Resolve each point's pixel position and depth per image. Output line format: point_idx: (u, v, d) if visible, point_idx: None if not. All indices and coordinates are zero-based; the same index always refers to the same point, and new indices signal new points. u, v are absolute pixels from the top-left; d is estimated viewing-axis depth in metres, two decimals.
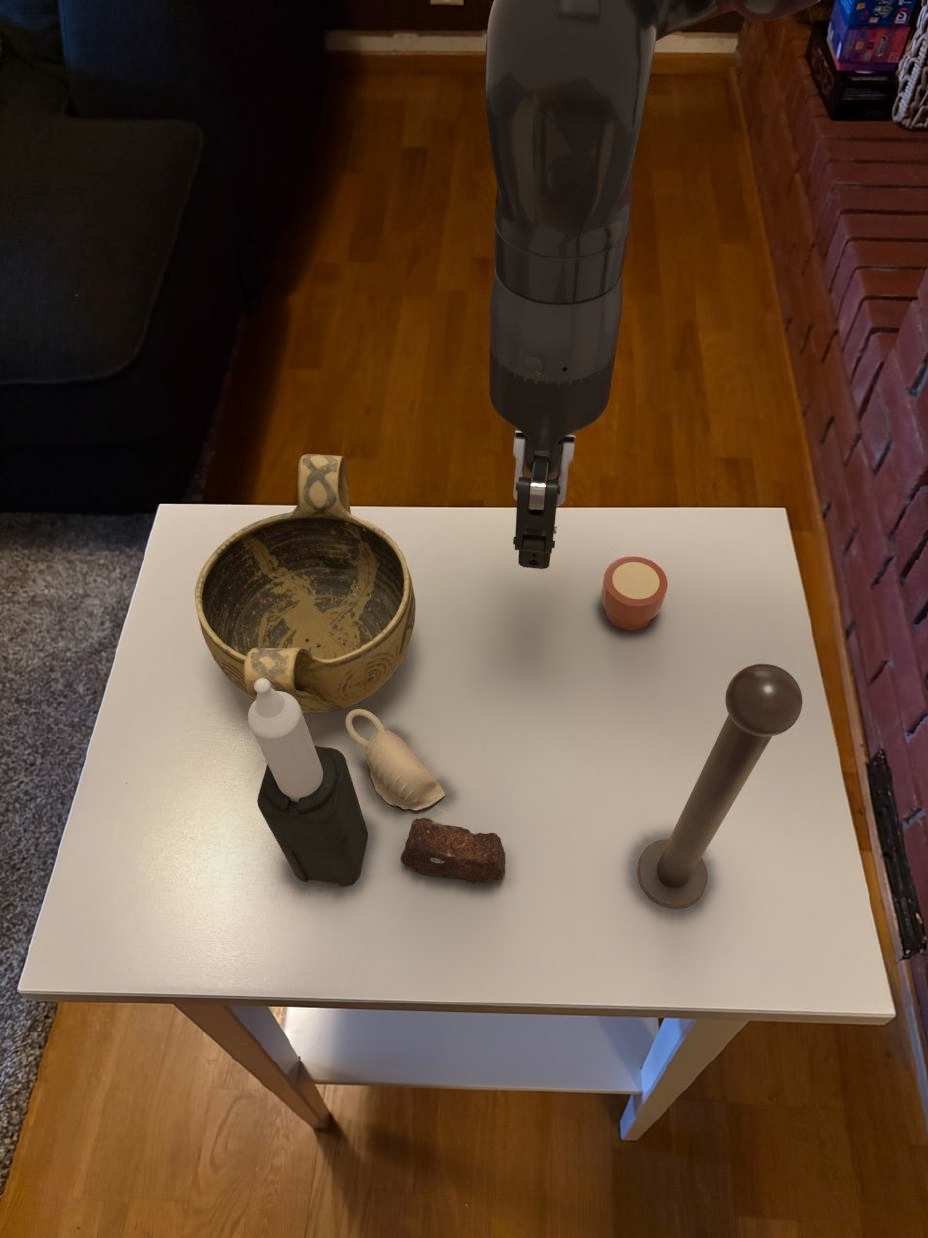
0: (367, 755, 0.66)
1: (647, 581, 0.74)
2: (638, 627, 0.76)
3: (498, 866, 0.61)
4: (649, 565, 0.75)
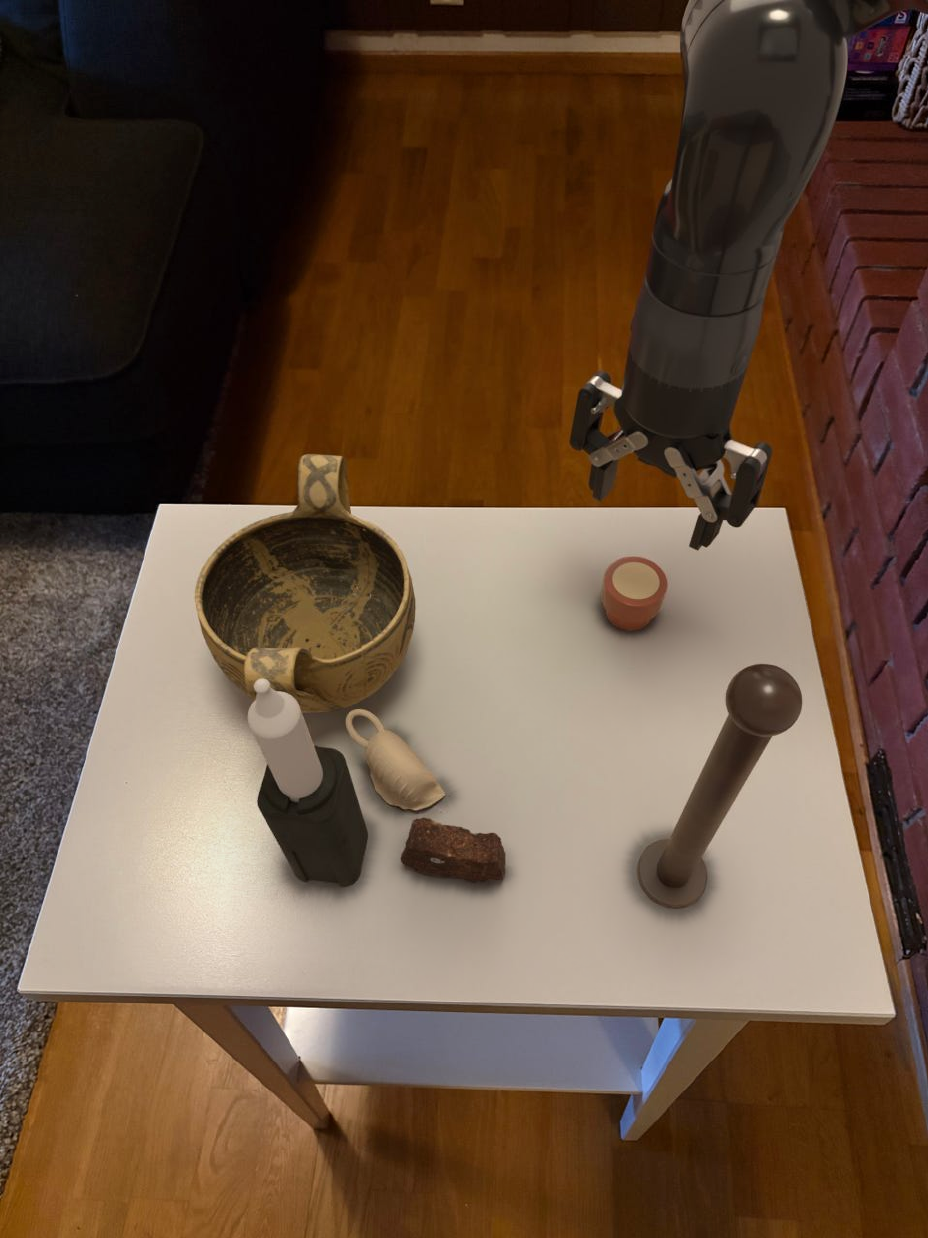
0: (367, 755, 0.66)
1: (647, 581, 0.74)
2: (638, 627, 0.76)
3: (498, 866, 0.61)
4: (649, 565, 0.75)
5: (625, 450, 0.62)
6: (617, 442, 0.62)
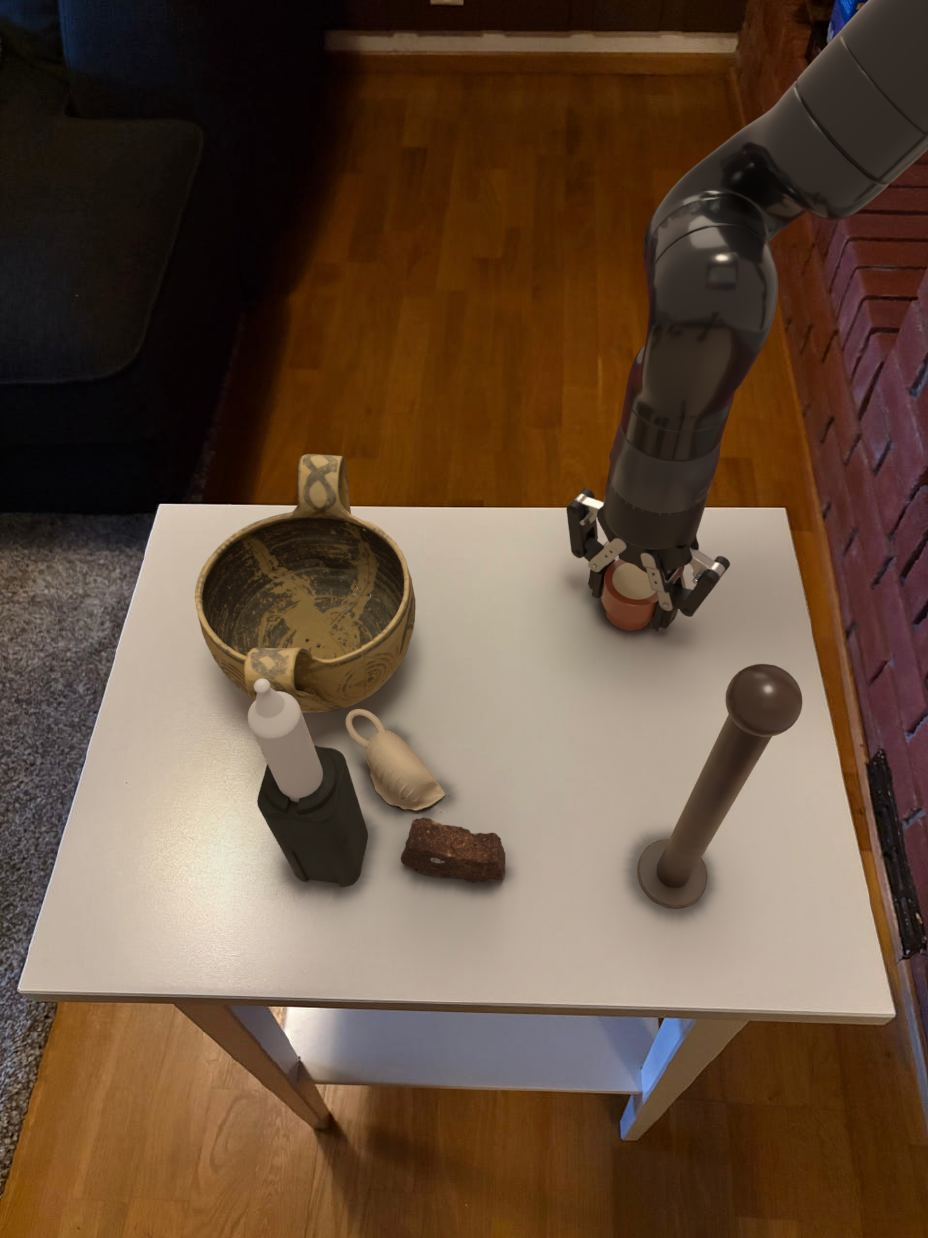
0: (367, 755, 0.66)
1: (647, 581, 0.74)
2: (638, 627, 0.76)
3: (498, 866, 0.61)
4: None
5: (612, 555, 0.71)
6: (604, 549, 0.71)
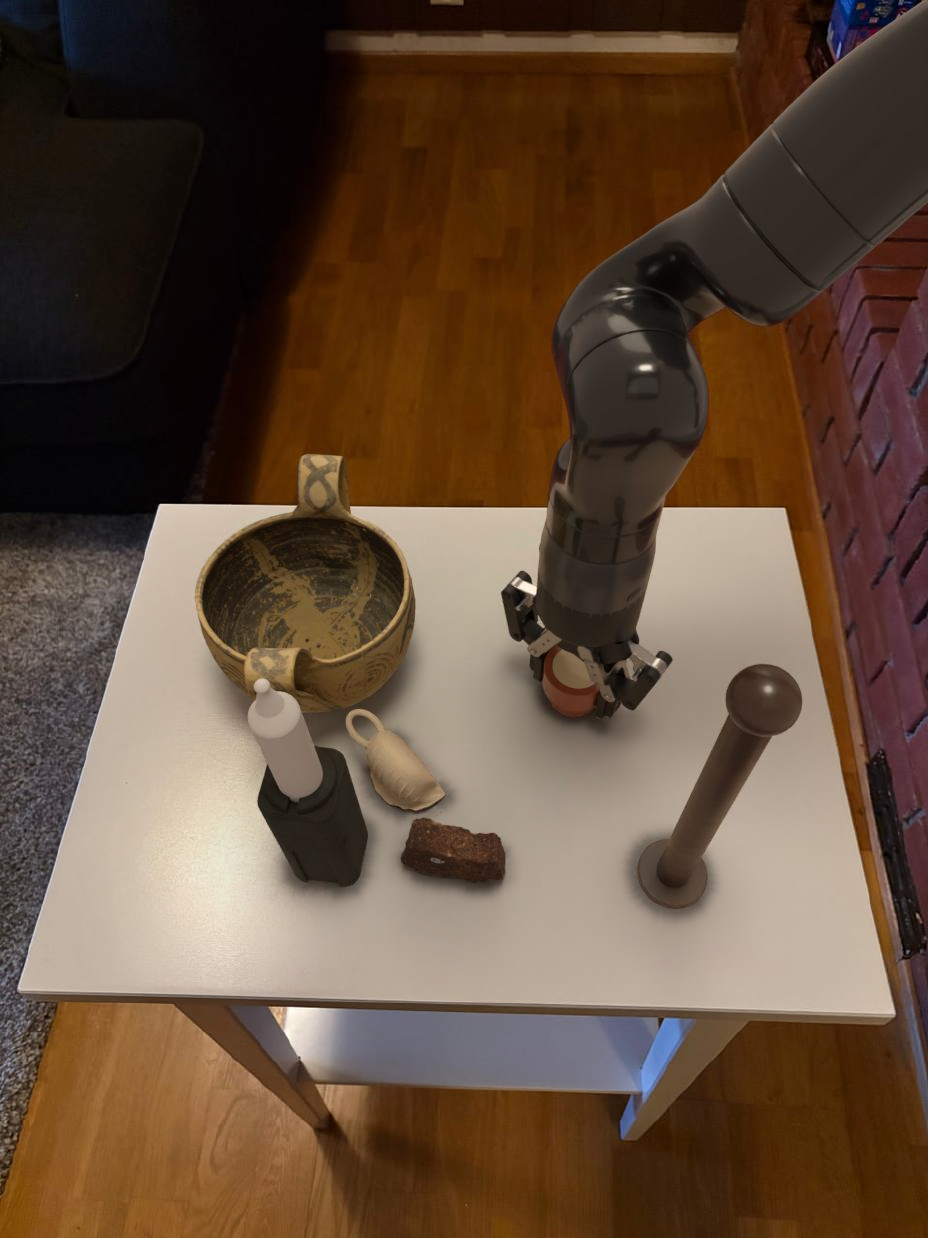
0: (367, 755, 0.66)
1: None
2: (581, 714, 0.72)
3: (498, 866, 0.61)
4: None
5: (549, 644, 0.66)
6: (541, 637, 0.66)
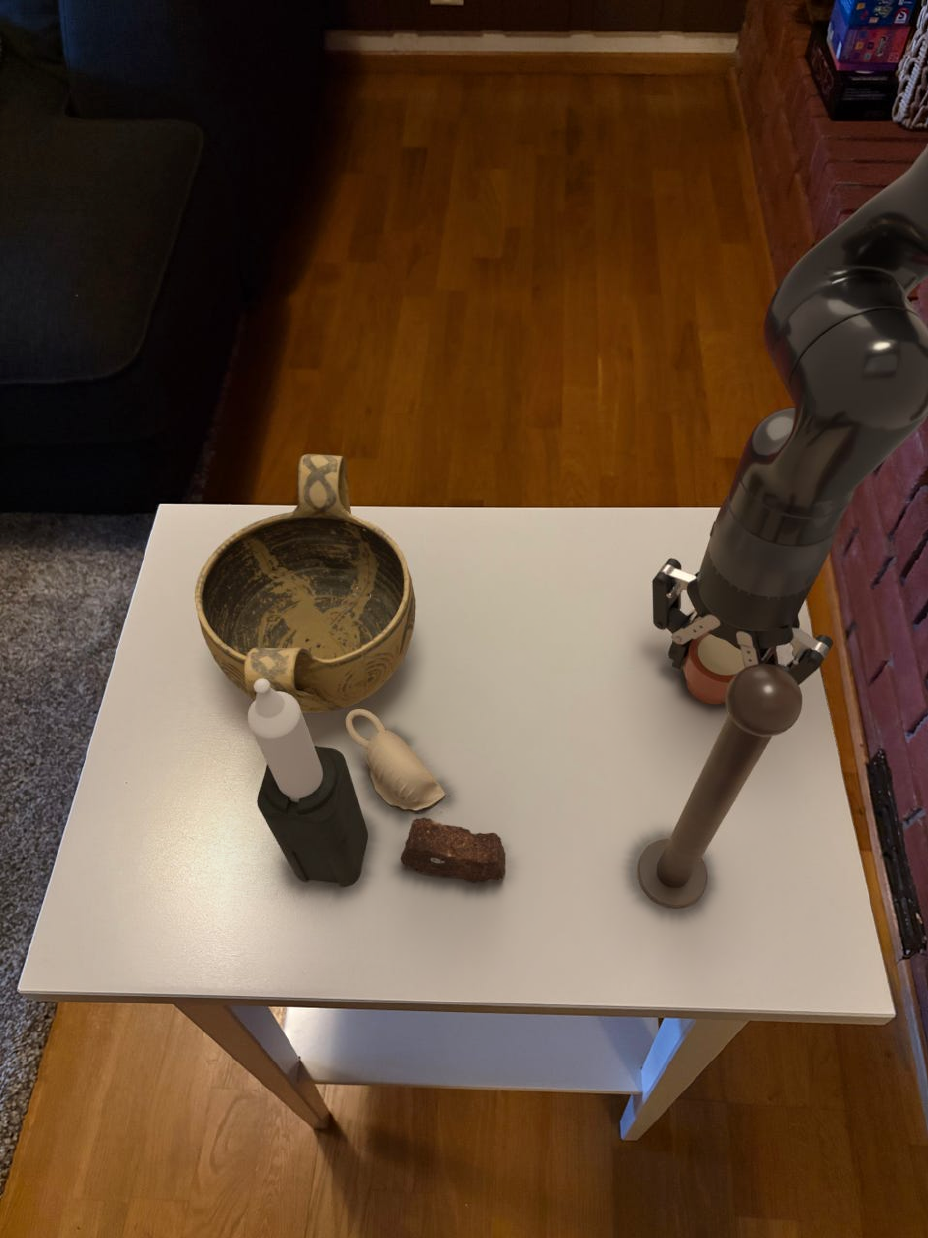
0: (367, 755, 0.66)
1: (735, 654, 0.70)
2: (723, 701, 0.72)
3: (498, 866, 0.61)
4: None
5: (702, 630, 0.67)
6: (693, 624, 0.67)
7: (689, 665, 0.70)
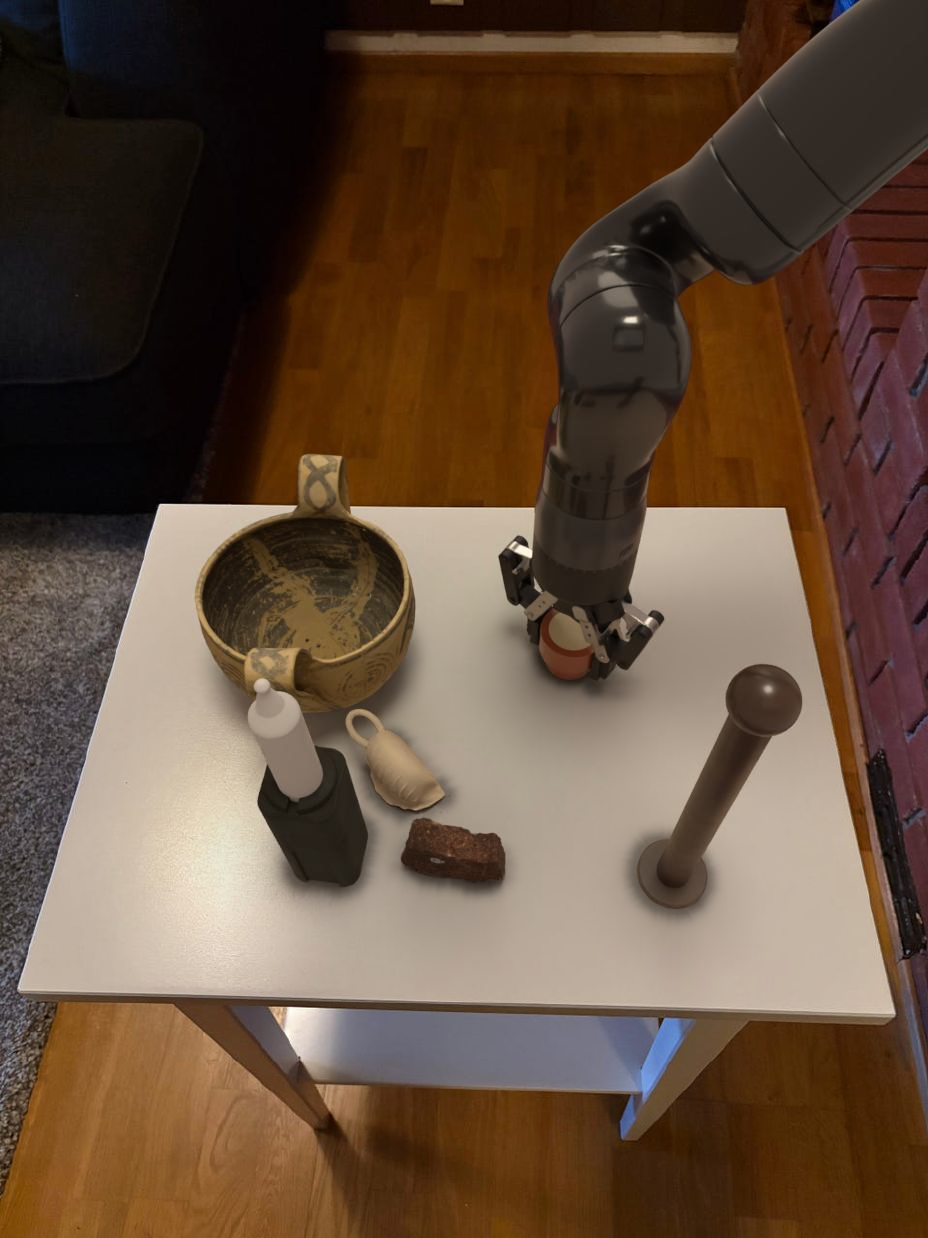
0: (367, 755, 0.66)
1: None
2: (577, 676, 0.74)
3: (498, 866, 0.61)
4: None
5: (545, 605, 0.68)
6: (537, 599, 0.68)
7: (540, 640, 0.72)
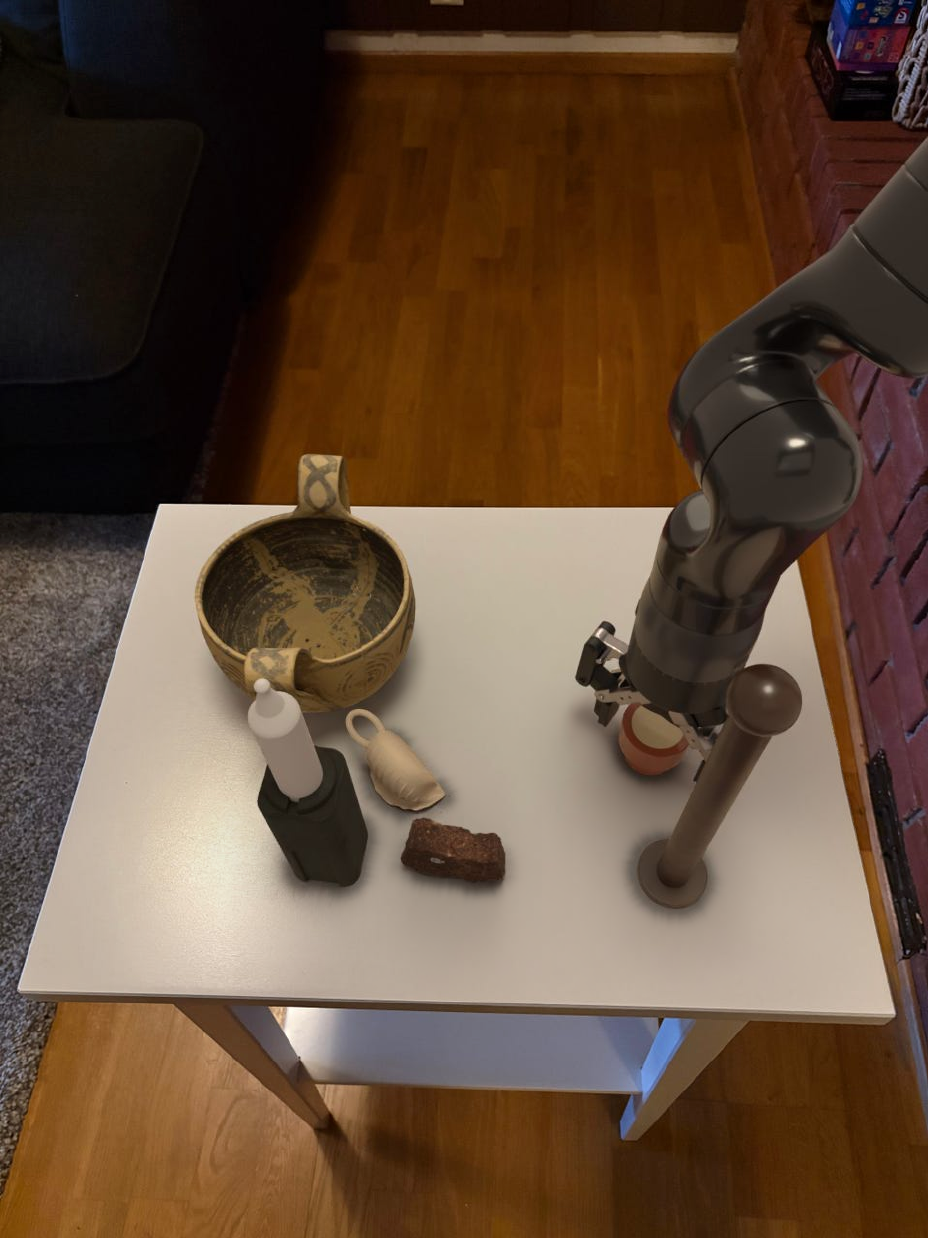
0: (367, 755, 0.66)
1: (670, 725, 0.66)
2: (660, 772, 0.69)
3: (498, 866, 0.61)
4: None
5: (630, 700, 0.63)
6: (622, 692, 0.63)
7: (622, 736, 0.67)
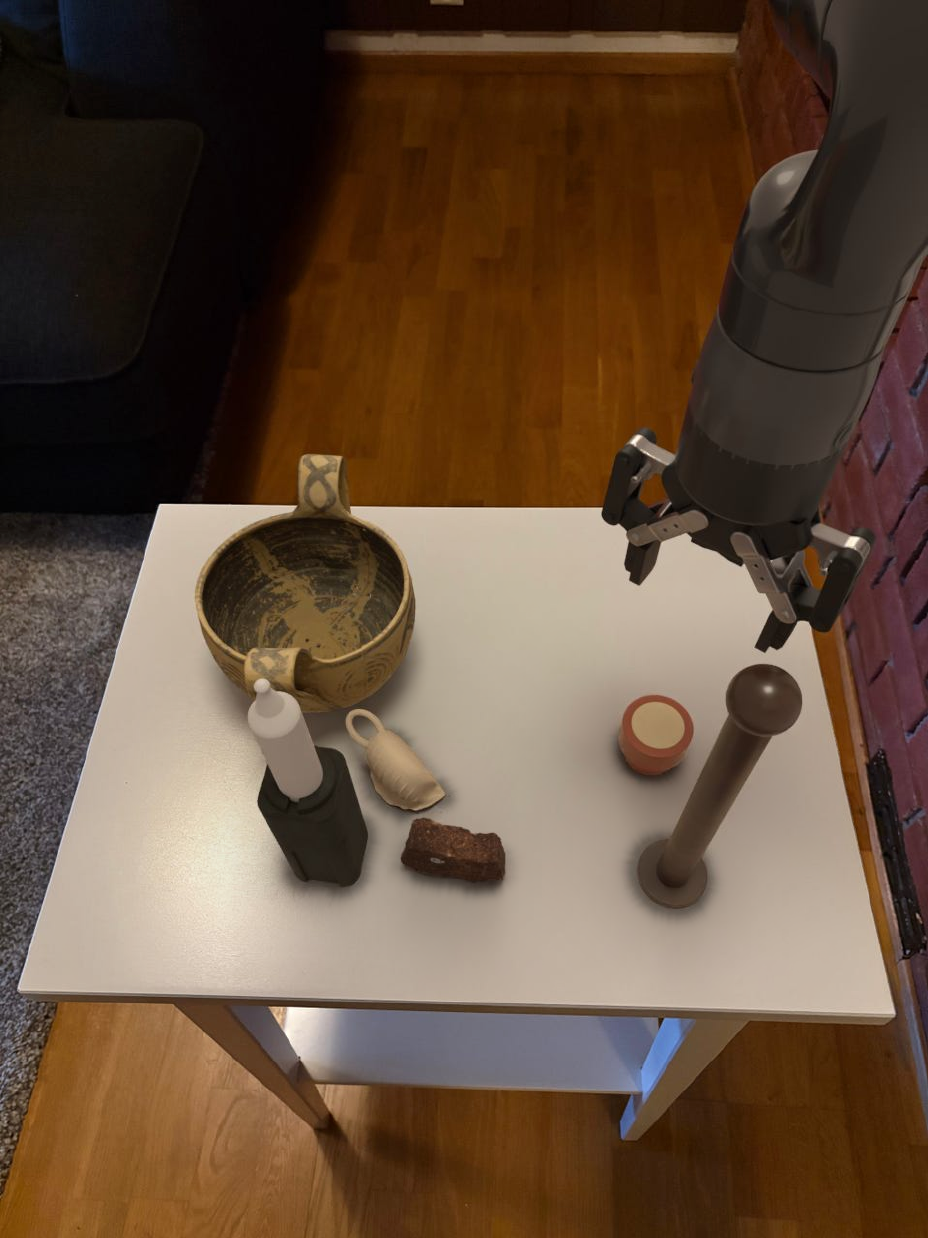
0: (367, 755, 0.66)
1: (670, 725, 0.66)
2: (660, 772, 0.69)
3: (498, 866, 0.61)
4: (672, 706, 0.67)
5: (676, 531, 0.48)
6: (666, 520, 0.48)
7: (622, 736, 0.67)
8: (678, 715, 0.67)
